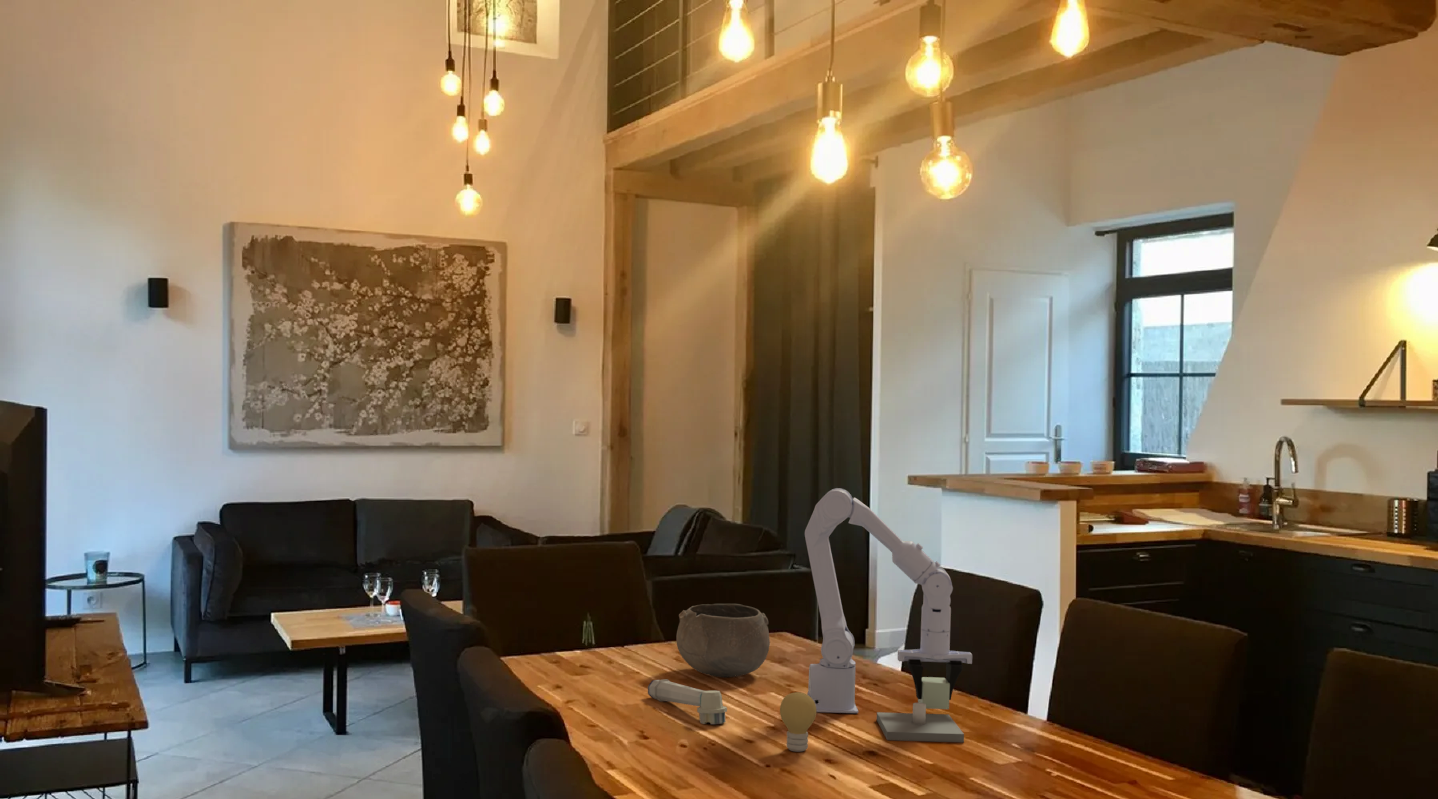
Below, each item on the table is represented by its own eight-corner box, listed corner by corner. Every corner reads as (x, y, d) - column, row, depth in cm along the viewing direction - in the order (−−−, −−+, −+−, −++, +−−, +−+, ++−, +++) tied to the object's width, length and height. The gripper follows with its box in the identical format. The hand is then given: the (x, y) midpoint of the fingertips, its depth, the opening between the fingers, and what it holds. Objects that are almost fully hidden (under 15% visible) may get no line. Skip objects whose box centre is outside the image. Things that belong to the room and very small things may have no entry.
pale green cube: (922, 708, 226) (923, 682, 226) (917, 701, 231) (918, 676, 231) (949, 709, 226) (949, 683, 226) (943, 702, 231) (944, 677, 231)
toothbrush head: (666, 677, 239) (731, 686, 218) (667, 710, 238) (733, 722, 217) (644, 679, 236) (708, 688, 215) (645, 713, 235) (709, 725, 214)
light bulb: (820, 754, 199) (822, 696, 199) (786, 756, 197) (787, 697, 197) (807, 744, 205) (809, 687, 205) (773, 745, 203) (775, 689, 204)
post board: (887, 740, 209) (887, 712, 209) (876, 720, 223) (877, 694, 223) (963, 742, 209) (964, 714, 209) (948, 722, 223) (949, 696, 223)
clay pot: (785, 673, 262) (786, 607, 263) (737, 690, 245) (739, 619, 245) (707, 660, 274) (709, 597, 274) (657, 675, 256) (659, 608, 256)
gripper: (902, 632, 225) (900, 702, 224) (976, 634, 225) (974, 704, 224) (896, 625, 232) (894, 693, 231) (968, 628, 232) (966, 695, 231)
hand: (933, 698), depth 228 cm, fingers closed on pale green cube, 5 cm apart
